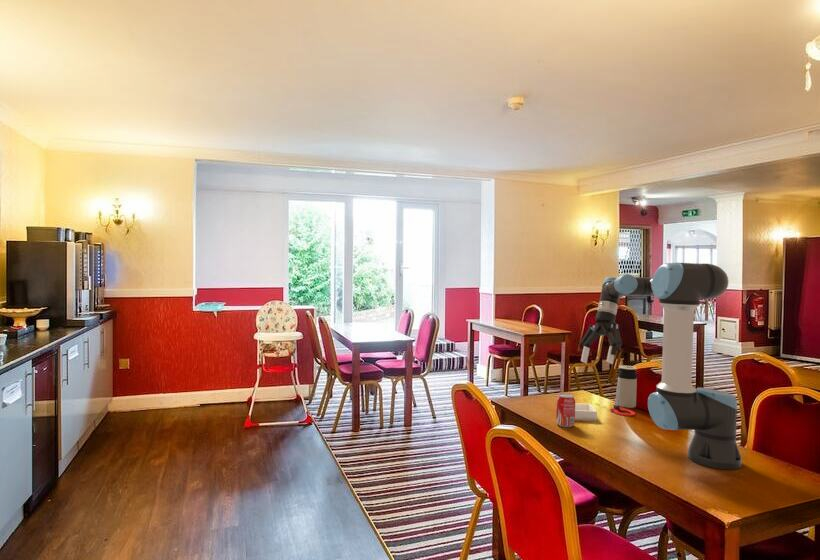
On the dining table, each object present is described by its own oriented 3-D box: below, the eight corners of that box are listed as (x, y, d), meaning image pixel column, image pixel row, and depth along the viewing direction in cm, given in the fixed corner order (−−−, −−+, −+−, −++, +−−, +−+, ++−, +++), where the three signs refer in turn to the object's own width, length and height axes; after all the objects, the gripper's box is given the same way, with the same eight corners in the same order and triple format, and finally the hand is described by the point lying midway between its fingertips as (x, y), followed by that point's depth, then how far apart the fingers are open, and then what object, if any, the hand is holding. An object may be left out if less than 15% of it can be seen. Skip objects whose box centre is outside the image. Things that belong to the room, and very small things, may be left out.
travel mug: (636, 409, 226) (638, 369, 226) (617, 407, 229) (619, 367, 229) (634, 404, 234) (636, 366, 234) (616, 402, 236) (617, 364, 236)
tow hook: (639, 416, 217) (621, 409, 225) (641, 386, 216) (623, 381, 224) (625, 418, 213) (608, 411, 221) (628, 388, 212) (610, 382, 220)
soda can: (559, 421, 205) (560, 392, 204) (576, 425, 201) (577, 395, 200) (553, 425, 199) (554, 395, 199) (571, 429, 195) (572, 398, 195)
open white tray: (596, 421, 206) (597, 411, 206) (566, 419, 207) (566, 410, 207) (589, 413, 218) (590, 403, 218) (561, 411, 219) (561, 402, 219)
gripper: (577, 312, 218) (567, 358, 212) (624, 307, 196) (614, 359, 190) (590, 318, 221) (580, 364, 215) (637, 315, 199) (628, 366, 193)
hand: (596, 362), depth 203 cm, fingers open, 13 cm apart
